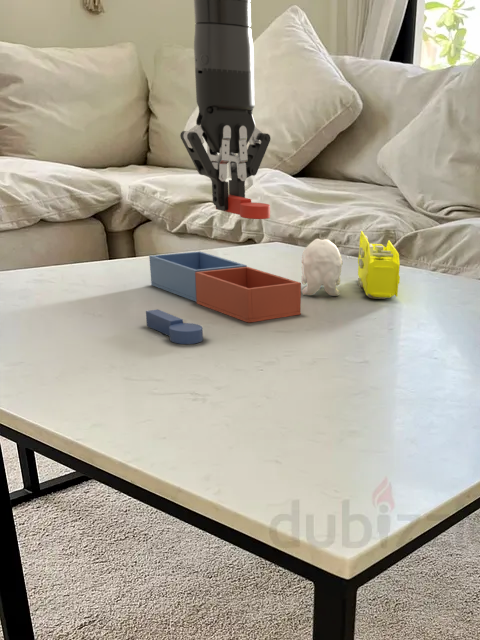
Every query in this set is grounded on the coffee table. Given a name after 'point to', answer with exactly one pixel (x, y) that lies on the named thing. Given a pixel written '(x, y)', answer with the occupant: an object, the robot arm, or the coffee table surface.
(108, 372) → the coffee table surface
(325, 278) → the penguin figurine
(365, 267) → the yellow toy chassis
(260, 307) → the red bin
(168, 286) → the blue bin
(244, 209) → the red spoon
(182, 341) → the blue spoon
